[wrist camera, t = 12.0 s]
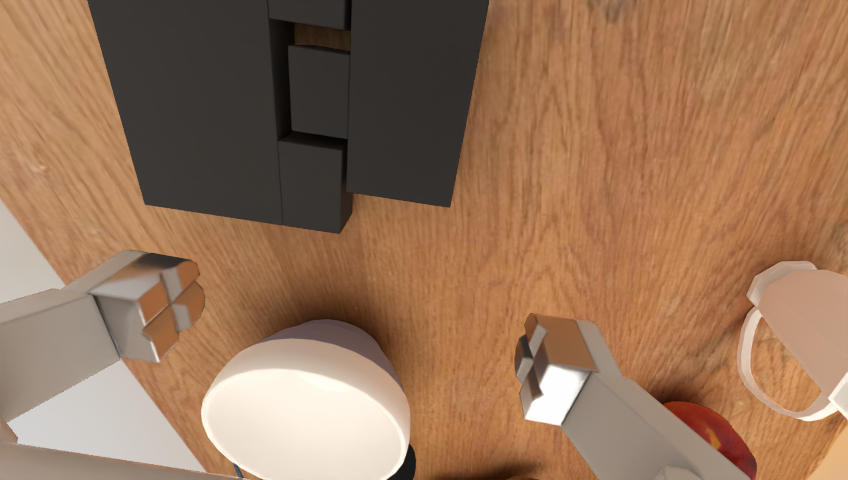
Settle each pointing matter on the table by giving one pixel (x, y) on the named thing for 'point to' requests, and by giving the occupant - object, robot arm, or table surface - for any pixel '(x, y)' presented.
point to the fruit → (716, 434)
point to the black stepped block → (394, 94)
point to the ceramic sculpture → (520, 478)
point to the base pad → (222, 108)
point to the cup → (802, 331)
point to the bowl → (310, 406)
